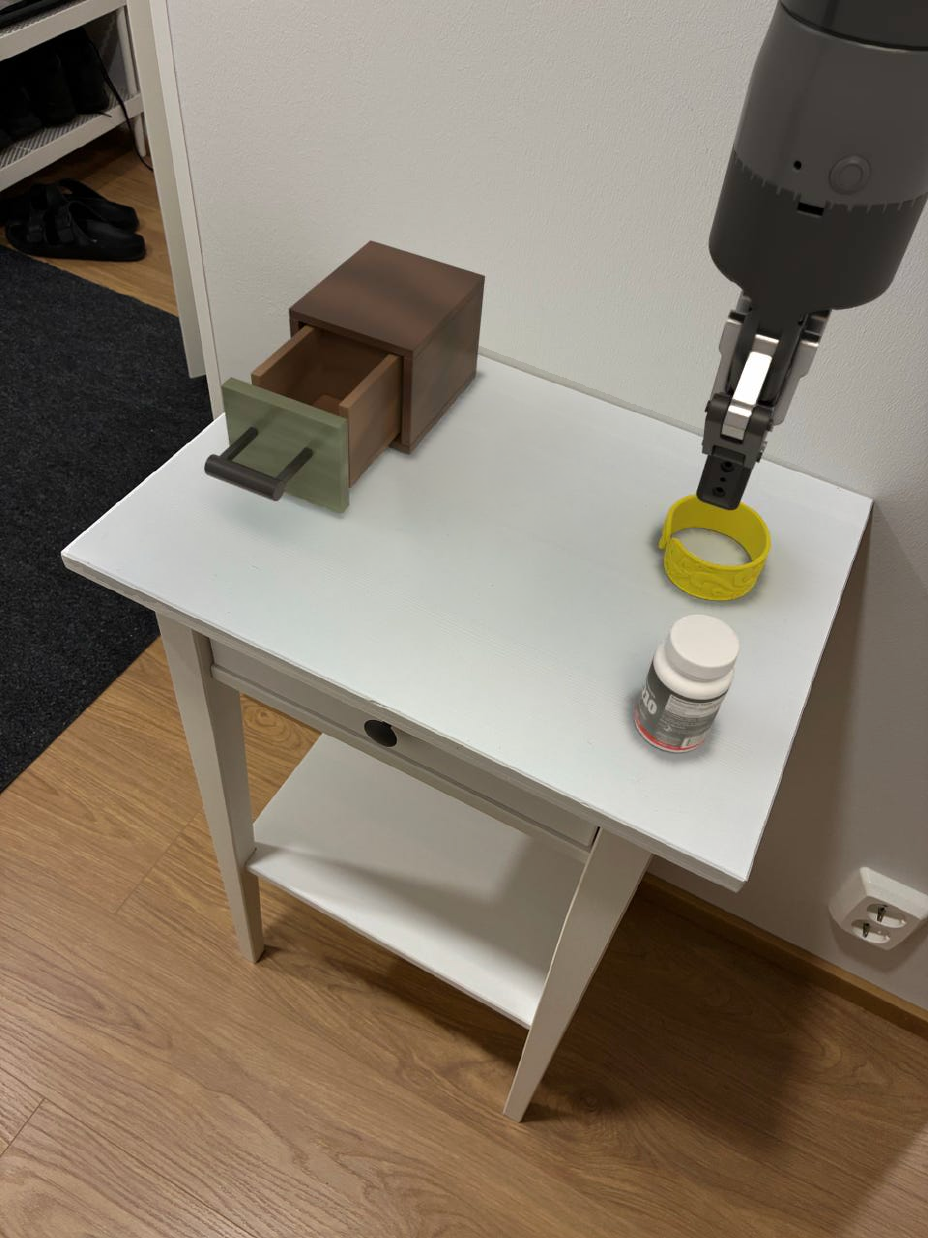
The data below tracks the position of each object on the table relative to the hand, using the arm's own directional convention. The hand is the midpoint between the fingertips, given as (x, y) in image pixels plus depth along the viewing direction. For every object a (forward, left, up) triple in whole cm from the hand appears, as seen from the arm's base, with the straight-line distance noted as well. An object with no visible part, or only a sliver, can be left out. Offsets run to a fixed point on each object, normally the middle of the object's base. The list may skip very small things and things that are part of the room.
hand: (718, 497), depth 49 cm
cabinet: (-11, +35, -18) cm, 40 cm away
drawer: (-19, +25, -17) cm, 35 cm away
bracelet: (+9, +12, -18) cm, 23 cm away
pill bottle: (+1, -2, -18) cm, 18 cm away
